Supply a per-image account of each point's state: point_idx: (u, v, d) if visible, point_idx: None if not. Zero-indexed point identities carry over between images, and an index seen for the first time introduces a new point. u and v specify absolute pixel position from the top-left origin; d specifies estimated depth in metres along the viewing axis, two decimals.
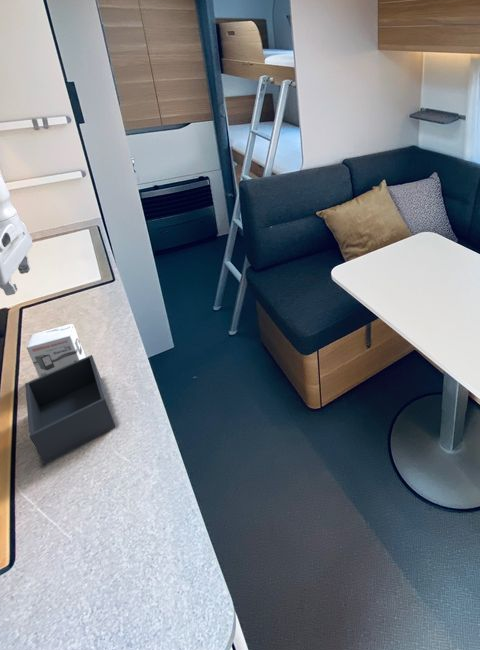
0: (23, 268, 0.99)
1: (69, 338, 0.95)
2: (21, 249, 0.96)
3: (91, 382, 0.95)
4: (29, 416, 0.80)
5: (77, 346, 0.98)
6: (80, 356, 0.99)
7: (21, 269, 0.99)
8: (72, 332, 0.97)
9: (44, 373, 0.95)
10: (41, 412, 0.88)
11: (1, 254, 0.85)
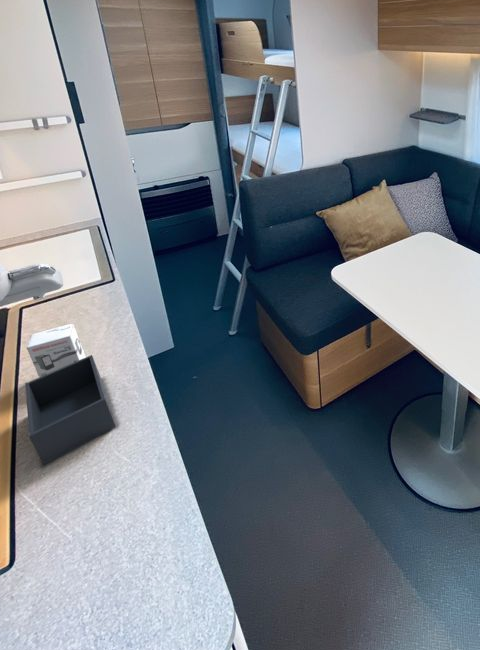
0: None
1: (69, 338, 0.95)
2: (12, 299, 0.76)
3: (91, 382, 0.95)
4: (29, 416, 0.80)
5: (77, 346, 0.98)
6: (80, 356, 0.99)
7: None
8: (72, 332, 0.97)
9: (44, 373, 0.95)
10: (41, 412, 0.88)
11: None
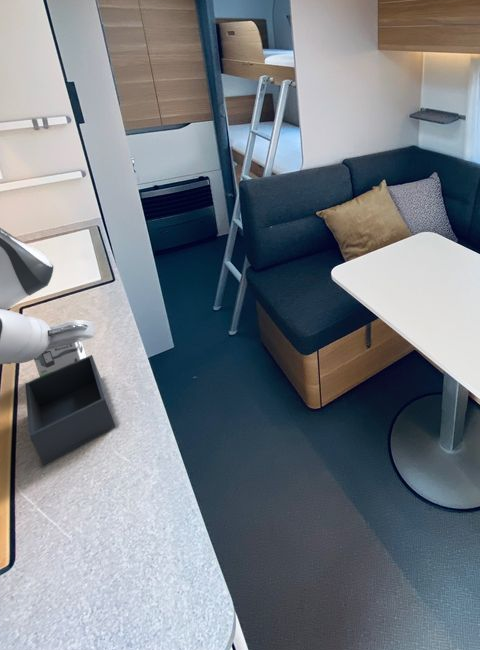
0: None
1: None
2: (51, 347, 0.89)
3: (91, 382, 0.95)
4: (29, 416, 0.80)
5: (78, 344, 0.99)
6: (80, 354, 0.99)
7: None
8: None
9: (44, 370, 0.95)
10: (41, 412, 0.88)
11: None
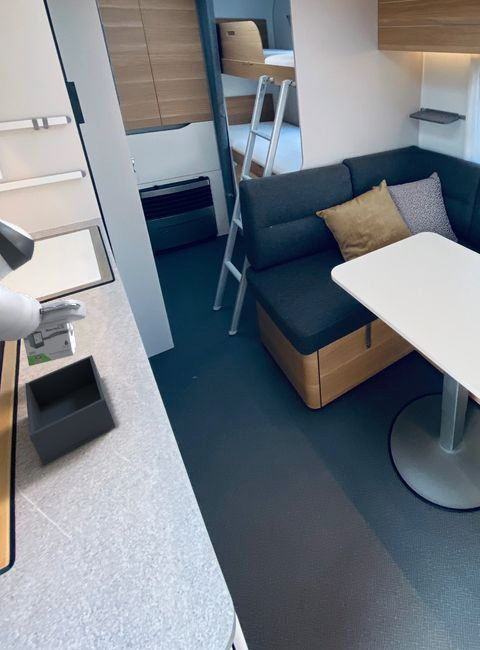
0: None
1: None
2: (43, 326, 0.87)
3: (91, 382, 0.95)
4: (29, 416, 0.80)
5: (69, 326, 0.97)
6: (71, 337, 0.97)
7: None
8: None
9: (33, 352, 0.93)
10: (41, 412, 0.88)
11: None
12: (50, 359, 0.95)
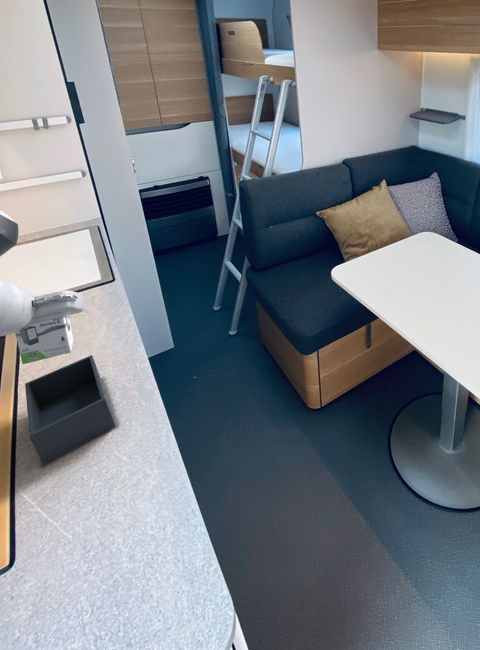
0: None
1: None
2: (36, 320, 0.79)
3: (91, 382, 0.95)
4: (29, 416, 0.80)
5: (66, 321, 0.89)
6: (68, 333, 0.90)
7: None
8: None
9: (26, 349, 0.85)
10: (41, 412, 0.88)
11: None
12: (45, 357, 0.88)
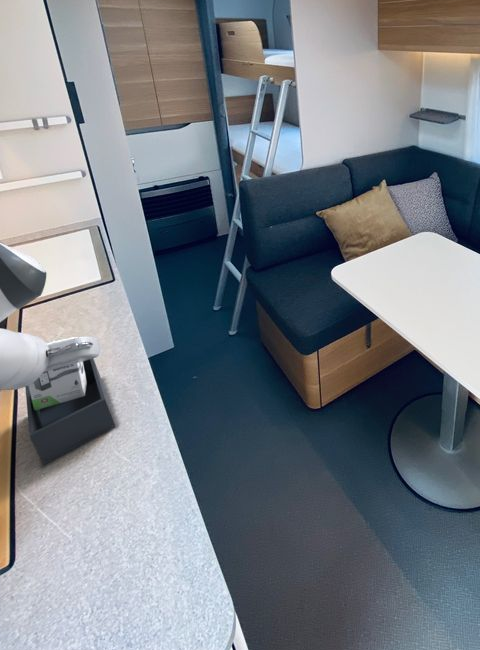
0: None
1: None
2: (50, 368, 0.75)
3: (91, 382, 0.95)
4: (29, 416, 0.80)
5: (80, 363, 0.85)
6: (82, 375, 0.85)
7: None
8: None
9: (38, 394, 0.81)
10: (41, 412, 0.88)
11: None
12: (58, 402, 0.83)
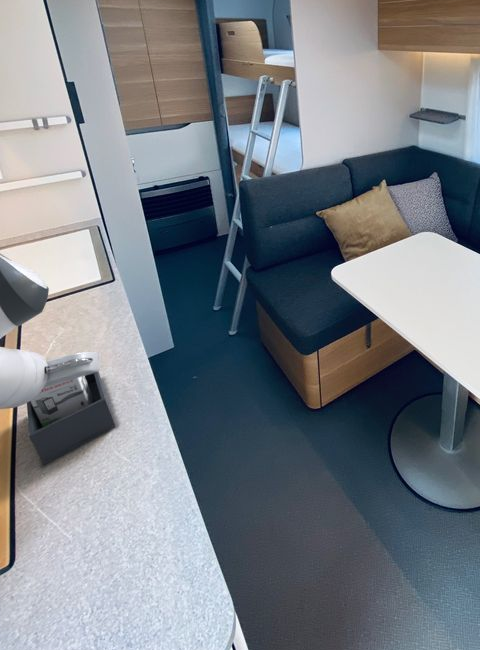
0: None
1: None
2: (48, 384, 0.73)
3: (91, 382, 0.95)
4: (29, 416, 0.80)
5: (83, 384, 0.86)
6: (87, 395, 0.87)
7: None
8: None
9: (46, 418, 0.83)
10: None
11: None
12: None
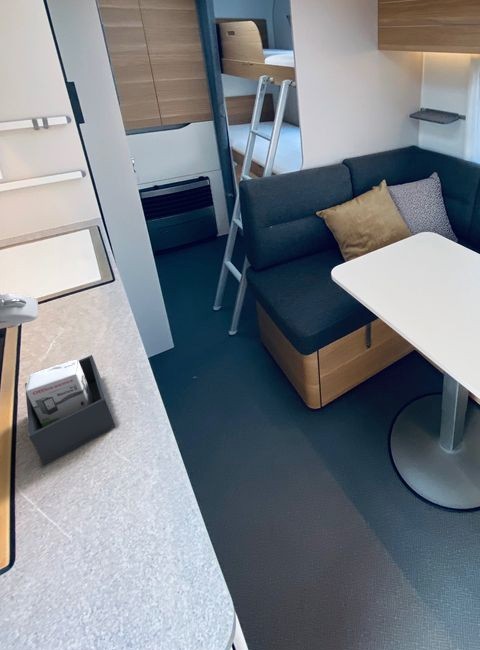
0: None
1: (75, 377, 0.83)
2: None
3: (91, 382, 0.95)
4: (29, 416, 0.80)
5: (83, 384, 0.86)
6: (87, 395, 0.87)
7: None
8: (78, 369, 0.85)
9: (46, 418, 0.83)
10: None
11: None
12: None
